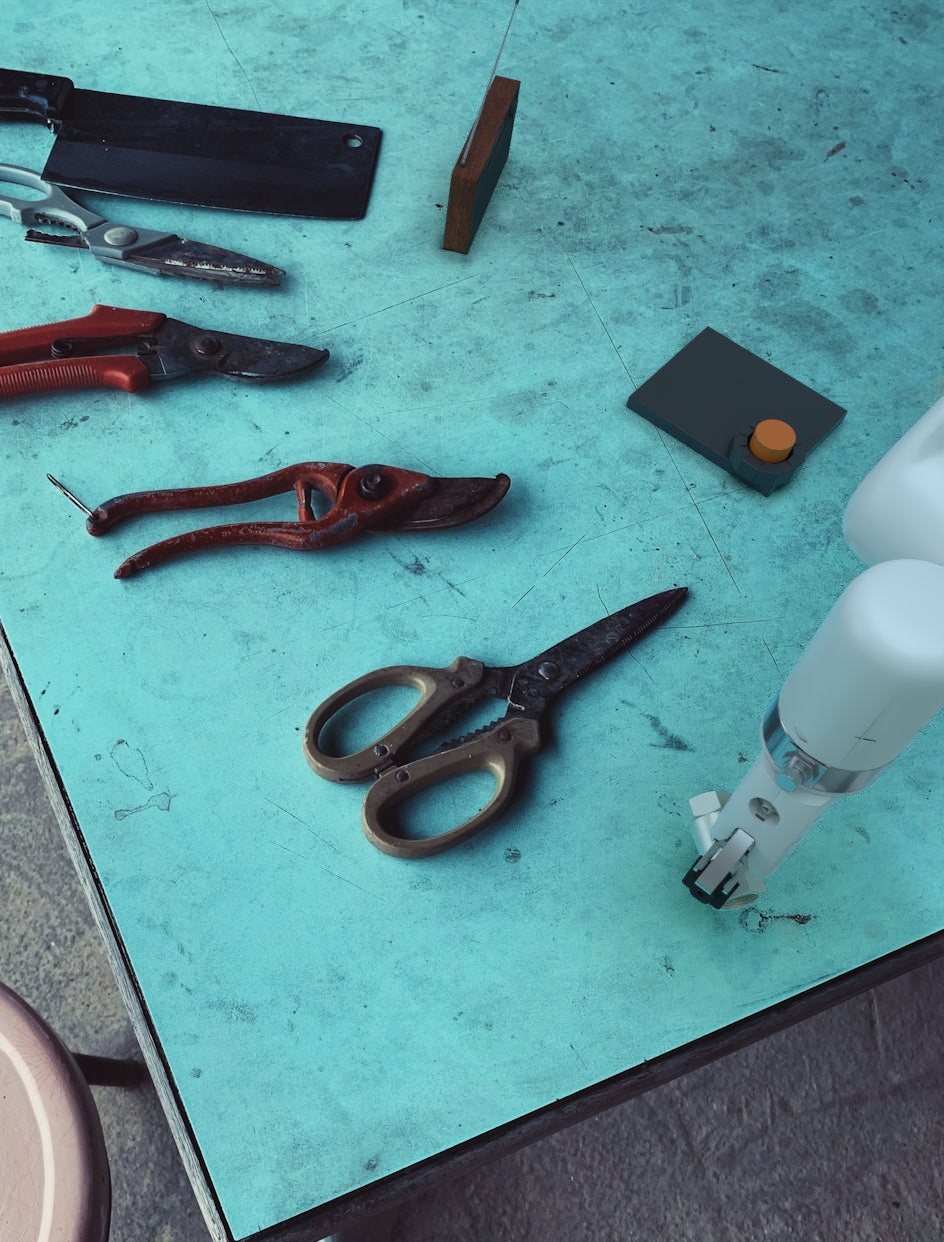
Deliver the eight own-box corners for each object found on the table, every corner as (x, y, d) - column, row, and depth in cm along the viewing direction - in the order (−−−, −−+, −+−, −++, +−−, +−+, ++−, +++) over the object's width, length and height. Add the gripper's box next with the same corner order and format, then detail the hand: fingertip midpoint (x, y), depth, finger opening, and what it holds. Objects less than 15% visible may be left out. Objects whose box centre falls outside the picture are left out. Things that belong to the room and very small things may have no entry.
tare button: (796, 448, 108) (803, 434, 106) (774, 470, 107) (781, 456, 105) (763, 427, 109) (769, 413, 107) (741, 448, 108) (747, 434, 106)
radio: (470, 256, 122) (491, 115, 109) (442, 249, 122) (459, 107, 109) (516, 146, 130) (541, 2, 117) (489, 140, 130) (511, -5, 117)
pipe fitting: (758, 804, 90) (674, 815, 89) (779, 780, 87) (692, 792, 86) (794, 902, 87) (708, 915, 86) (818, 881, 83) (728, 895, 82)
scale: (849, 425, 113) (862, 402, 110) (769, 507, 108) (780, 485, 106) (703, 336, 118) (712, 312, 115) (620, 411, 113) (628, 387, 110)
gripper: (805, 869, 66) (714, 967, 81) (962, 674, 72) (850, 800, 87) (693, 787, 68) (625, 897, 84) (855, 604, 74) (764, 738, 89)
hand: (740, 847), depth 85 cm, fingers closed on pipe fitting, 9 cm apart
